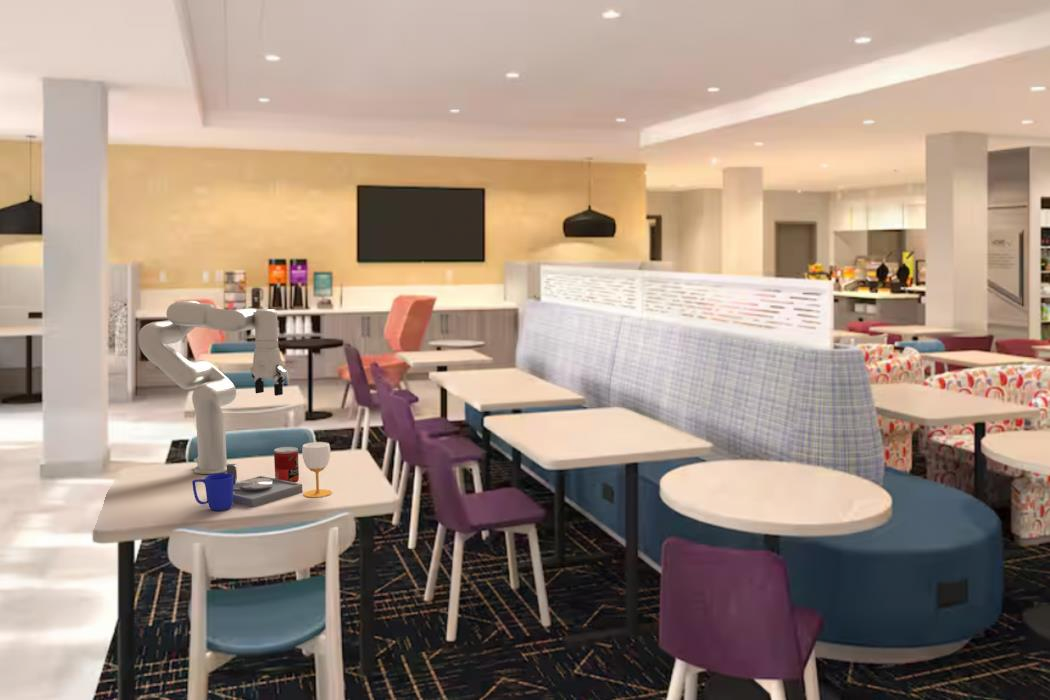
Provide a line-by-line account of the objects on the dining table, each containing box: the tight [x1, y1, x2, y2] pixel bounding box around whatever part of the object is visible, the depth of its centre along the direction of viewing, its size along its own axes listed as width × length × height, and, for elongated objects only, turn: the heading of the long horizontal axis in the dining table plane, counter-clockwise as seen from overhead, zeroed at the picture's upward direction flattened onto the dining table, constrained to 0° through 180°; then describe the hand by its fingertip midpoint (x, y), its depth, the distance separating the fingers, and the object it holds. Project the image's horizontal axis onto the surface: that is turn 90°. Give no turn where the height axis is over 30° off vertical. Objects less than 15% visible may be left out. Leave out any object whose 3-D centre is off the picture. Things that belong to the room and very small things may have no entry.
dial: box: [226, 463, 273, 490], centre depth 283 cm, size 14×10×7 cm
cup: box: [301, 441, 333, 499], centre depth 283 cm, size 9×9×16 cm
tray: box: [233, 475, 303, 508], centre depth 284 cm, size 20×20×3 cm
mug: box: [192, 472, 234, 512], centre depth 268 cm, size 8×12×10 cm
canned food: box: [273, 446, 300, 483], centre depth 300 cm, size 8×8×11 cm
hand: (269, 393), depth 307 cm, fingers open, 9 cm apart
